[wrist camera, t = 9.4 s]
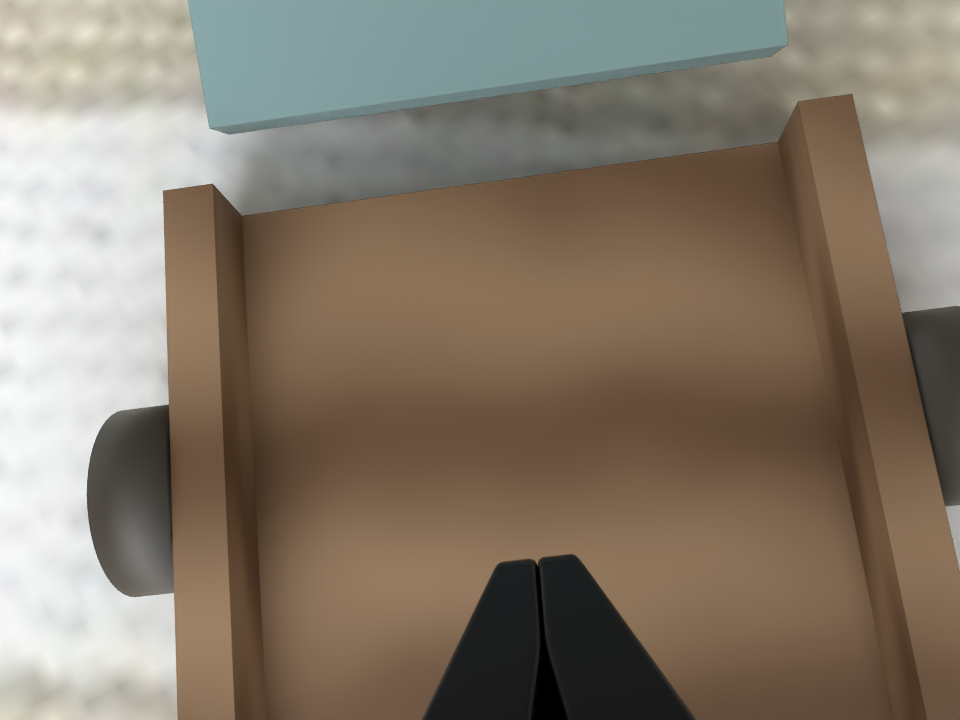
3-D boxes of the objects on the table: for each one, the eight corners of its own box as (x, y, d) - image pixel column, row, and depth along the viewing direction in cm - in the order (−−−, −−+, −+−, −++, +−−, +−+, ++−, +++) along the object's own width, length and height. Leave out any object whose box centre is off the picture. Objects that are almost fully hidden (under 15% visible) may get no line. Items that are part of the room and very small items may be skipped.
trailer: (996, 716, 21) (1106, 754, 17) (180, 796, 22) (89, 850, 18) (870, 161, 24) (936, 73, 20) (165, 256, 25) (84, 193, 21)
